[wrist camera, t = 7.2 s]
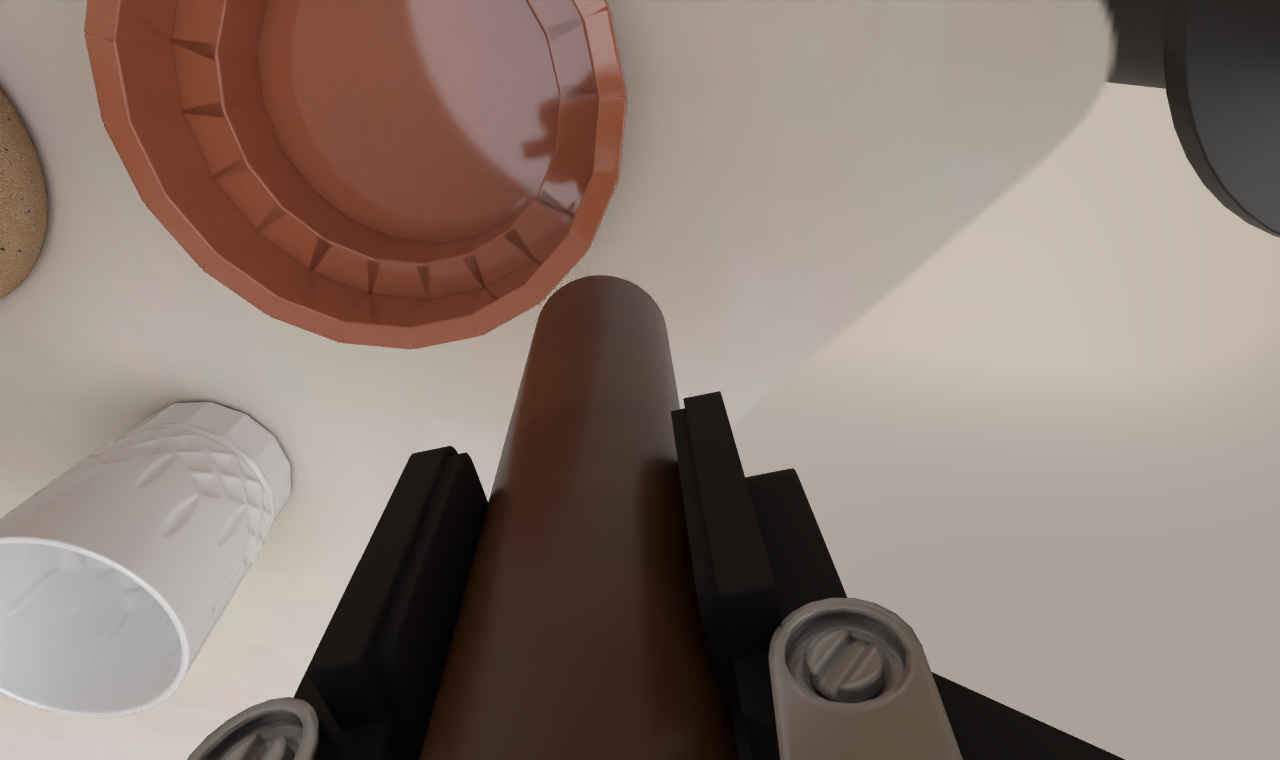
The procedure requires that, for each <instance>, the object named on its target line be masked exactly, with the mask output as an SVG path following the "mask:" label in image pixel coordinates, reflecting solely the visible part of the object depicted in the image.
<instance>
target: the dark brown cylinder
mask: <svg viewBox="0 0 1280 760" xmlns="http://www.w3.org/2000/svg"><path fill="white" fill-rule="evenodd" d="M679 409H680V406H679V400H678V394H677V388H676V382H675V376H674V370H673V364H672V358H671V352H670V346H669V340H668V335H667V329H666V324H665V320H664V317H663V315H662V312H661V310H660V308H659V307H658V305H657V304H656V302H655V301H654V300H653V299H652V297H651V296H650V295H649V294H648V293H646V292H645V291H644V290H643V289H641V288H640V287H639V286H637V285H635V284H633V283H631V282H629V281H627V280H624V279H621V278H617V277H613V276H604V275H600V276H589V277H584V278H580V279H577V280H575V281H572V282H570V283H568V284H566V285H565V286H563V287H561V288H560V289H559V290H558V291H556V292H555V293H554V294H553V295H552V296H551V297H550V298H549V300H548V301H547V302H546V304H545V305H544V307H543V309H542V311H541V312H540V315H539V318H538V321H537V325H536V328H535V332H534V336H533V339H532V343H531V347H530V351H529V354H528V358H527V362H526V365H525V369H524V373H523V377H522V380H521V384H520V388H519V391H518V395H517V399H516V402H515V406H514V410H513V414H512V417H511V421H510V425H509V428H508V432H507V436H506V440H505V443H504V447H503V451H502V454H501V458H500V462H499V465H498V469H497V473H496V477H495V480H494V484H493V488H492V491H491V495H490V499H489V502H488V506H487V510H486V514H485V517H484V521H483V525H482V528H481V532H480V536H479V540H478V543H477V547H476V551H475V554H474V558H473V562H472V565H471V569H470V573H469V577H468V580H467V584H466V588H465V591H464V595H463V599H462V603H461V606H460V610H459V614H458V617H457V621H456V625H455V628H454V632H453V636H452V640H451V643H450V647H449V651H448V654H447V658H446V662H445V666H444V669H443V673H442V677H441V680H440V684H439V688H438V691H437V695H436V699H435V703H434V706H433V710H432V714H431V717H430V721H429V725H428V729H427V732H426V736H425V740H424V743H423V747H422V751H421V754H420V758H419V760H739V755H738V749H737V743H736V737H735V731H734V725H733V720H732V714H731V709H730V706H729V703H728V700H727V697H726V696H725V694H724V692H723V690H722V688H721V686H720V685H719V683H718V682H717V681H716V678H715V673H714V669H713V665H712V661H711V656H710V652H709V648H708V644H707V639H706V635H705V631H704V627H703V622H702V618H701V613H700V608H699V603H698V598H697V592H696V586H695V580H694V573H693V566H692V559H691V552H690V545H689V538H688V531H687V523H686V516H685V509H684V502H683V495H682V488H681V481H680V474H679V467H678V460H677V453H676V445H675V438H674V431H673V424H672V417H671V411H674V410H679Z"/></svg>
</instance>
